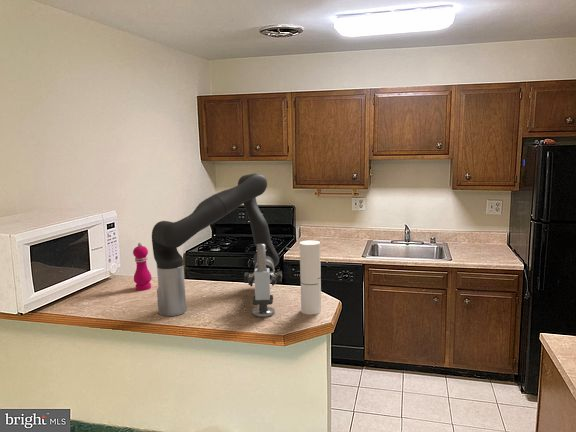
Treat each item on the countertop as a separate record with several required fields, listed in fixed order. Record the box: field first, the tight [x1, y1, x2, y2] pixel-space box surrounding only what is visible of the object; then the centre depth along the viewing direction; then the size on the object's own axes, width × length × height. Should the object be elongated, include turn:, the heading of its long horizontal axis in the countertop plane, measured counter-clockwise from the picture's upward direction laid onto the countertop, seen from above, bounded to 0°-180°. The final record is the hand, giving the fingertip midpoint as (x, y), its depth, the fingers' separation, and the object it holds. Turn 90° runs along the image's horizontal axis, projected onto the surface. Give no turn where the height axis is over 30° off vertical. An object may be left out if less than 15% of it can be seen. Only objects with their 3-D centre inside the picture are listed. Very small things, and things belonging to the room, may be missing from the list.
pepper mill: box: [132, 242, 152, 291], centre depth 191 cm, size 7×7×20 cm
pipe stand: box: [251, 244, 276, 319], centre depth 158 cm, size 8×8×25 cm
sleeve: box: [253, 267, 271, 300], centre depth 158 cm, size 5×5×10 cm
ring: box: [252, 294, 274, 306], centre depth 159 cm, size 7×7×2 cm
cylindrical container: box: [299, 239, 322, 316], centre depth 159 cm, size 7×7×25 cm
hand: (262, 283), depth 156 cm, fingers open, 7 cm apart
